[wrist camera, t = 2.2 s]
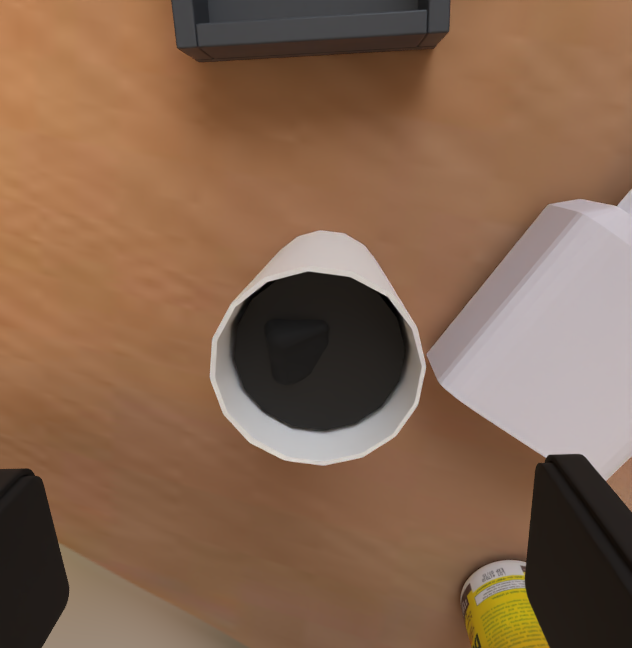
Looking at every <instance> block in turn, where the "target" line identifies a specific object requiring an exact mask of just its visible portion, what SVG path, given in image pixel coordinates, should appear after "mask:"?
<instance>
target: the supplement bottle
mask: <svg viewBox="0 0 632 648" xmlns="http://www.w3.org/2000/svg"><path fill="white" fill-rule="evenodd" d="M525 570H526V562H523V561H517V560H503V561H497V562H493V563H490V564H487V565H485V566H483V567H481V568H480V569H478V570H477V571H475V572H474V573H473V574H472V575H471V576H470V577H469V578H468V580H467V581H466V583H465V584H464V586H463V589H462V592H461V600H460V601H461V609H462V614H463V618H464V622H465V625H466V629H467V633H468V636H469V640H470V644H471V648H550V647H549V645H548V643H547V641H546V638H545V636H544V634H543V632H542V629H541V627H540V625H539V623H538V620H537V618H536V616H535V614H534V611H533V609H532V607H531V604H530V602H529V600H528V597H527V593H526V588H525Z"/></svg>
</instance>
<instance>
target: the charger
mask: <svg viewBox="0 0 632 648" xmlns="http://www.w3.org/2000/svg"><path fill="white" fill-rule="evenodd" d="M426 355H427V357H428V360H429V362H430V364H431V366H432V369H433V371H434V373H435V376H436V378H437V380H438V382H439V383H440V384H441V385H442V386H443V387H444V388H445V389H446V390H447V391H448V392H449V393H451V394H452V395H453V396H454V397H456V398H457V399H458V400H460V401H461V402H462V403H464V404H465V405H466V406H468V407H469V408H471V409H472V410H474V411H475V412H477V413H478V414H480V415H481V416H483V417H484V418H486V419H487V420H489V421H490V422H492V423H493V424H495V425H496V426H498V427H500V428H501V429H503V430H504V431H506V432H507V433H509V434H510V435H512V436H513V437H515V438H516V439H518V440H519V441H521V442H522V443H524V444H525V445H527V446H528V447H530V448H531V449H533V450H535V451H536V452H538V453H539V454H541V455H542V456H544V457H545V458H546V457H547V456H548V455H554V454H582V455H583V456H585V457H586V458H587V460H588V461H589V462H590V463H591V464H592V466H593V467H594V468H595V469H596V470H597V472H598V473H599V474H600V475H601V476H602V477H603V479H604V480H605V481H606V480H607V479H608V478H609V477H611V476H612V475H613V474H614V473H615V472H616V471H617V470H618V469H619V468H620V467H621V466H622V465H623V464H624V463H625V462H626V461H627V460H628V459H629V458H630V457H631V456H632V189H631V190H630V191H629V192H628V194H627V195H626V196H625V197H624V198H623V199H622V201H621V202H620V203H619V204H618V205H617V206H614V205H609V204H604V203H599V202H594V201H589V200H584V199H576V200H570V201H564V202H558V203H553V204H548V205H547V206H546V207H545V208H544V210H543V211H542V212H541V213H540V215H539V216H538V217H537V218H536V220H535V221H534V222H533V223H532V224H531V226H530V227H529V228H528V229H527V231H526V232H525V233H524V234H523V236H522V237H521V238H520V239H519V240H518V242H517V243H516V244H515V245H514V247H513V248H512V249H511V250H510V252H509V253H508V254H507V255H506V256H505V258H504V259H503V260H502V261H501V263H500V264H499V265H498V266H497V268H496V269H495V270H494V271H493V273H492V274H491V275H490V276H489V277H488V279H487V280H486V281H485V282H484V284H483V285H482V286H481V287H480V289H479V290H478V291H477V292H476V293H475V295H474V296H473V297H472V298H471V300H470V301H469V302H468V303H467V305H466V306H465V307H464V308H463V309H462V311H461V312H460V313H459V314H458V316H457V317H456V318H455V319H454V321H453V322H452V323H451V324H450V325H449V327H448V328H447V329H446V330H445V332H444V333H443V334H442V335H441V337H440V338H439V339H438V340H437V341H436V343H435V344H434V345H433V346H432V348H431V349H430V350H429V351H428V353H427V354H426Z"/></svg>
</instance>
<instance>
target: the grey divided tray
mask: <svg viewBox="0 0 632 648" xmlns="http://www.w3.org/2000/svg"><path fill="white" fill-rule="evenodd" d="M171 2H172V11H173V19H174V28H175V36H176V45H177V48H178V49H179V50H181V51H182V52H184V53H186V54H187V55H189V56H190V57H192V58H193V59H195V60H196V61H198V62H212V61H230V60H247V59H264V58H281V57H299V56H316V55H333V54H350V53H367V52H385V51H402V50H419V49H434V48H435V47H436V45H437V44H438V43H439V42H440V41H441V40H442V39H443V38H444V37H445V35H446V34H447V33H448V32H449V26H450V0H171Z"/></svg>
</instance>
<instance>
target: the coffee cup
mask: <svg viewBox="0 0 632 648" xmlns="http://www.w3.org/2000/svg"><path fill="white" fill-rule="evenodd" d="M425 370H426V364H425V359H424V355H423V351H422V346H421V342H420V337H419V333H418V329H417V326H416V325H415V323H414V321H413V320H412V318H411V316H410V315H409V313H408V311H407V310H406V308H405V307H404V305H403V303H402V302H401V300H400V298H399V297H398V295H397V293H396V292H395V290H394V289H393V287H392V285H391V284H390V282H389V280H388V279H387V277H386V275H385V274H384V272H383V270H382V269H381V267H380V266H379V264H378V262H377V261H376V260H375V258H374V257H373V256H372V254H371V253H370V252H369V250H368V249H367V248H366V246H365V245H364V244H362V243H360V242H358V241H357V240H355V239H353V238H351V237H350V236H348V235H346V234H345V233H338V232H331V231H323V230H319V231H315V232H312V233H308V234H304V235H301V236H297V237H296V238H295V239H294V240H292V241H291V242H290V243H288V244H287V245H286V246H285V247H283V248H282V249H281V250H280V251H279V252H278V253H277V254H276V255H275V256H274V257H273V258H272V259H271V261H270V262H269V263H268V264H267V265H266V266H265V267H264V268H263V269H262V270H261V271H260V272H259V274H258V275H257V276H256V277H255V278H254V279H253V280H252V281H251V282H250V283H249V284H248V286H247V287H246V288H245V289H244V290H243V291H242V292H241V293H240V294H239V295H238V296H237V298H236V299H235V300H234V301H233V302H232V303H231V305H230V307H229V308H228V310H227V312H226V314H225V316H224V318H223V320H222V322H221V323H220V325H219V327H218V329H217V331H216V333H215V335H214V336H213V338H212V350H211V366H210V380H211V382H212V385H213V388H214V391H215V393H216V396H217V399H218V401H219V404H220V407H221V409H222V412H223V414H224V415H225V417H226V418H227V419H228V420H229V421H230V422H231V423H232V424H233V425H234V426H235V427H236V429H237V430H238V431H239V432H240V433H241V434H242V435H243V436H244V437H245V438H246V439H247V441H248V442H249V443H251V444H253V445H255V446H257V447H259V448H261V449H263V450H265V451H267V452H269V453H271V454H273V455H275V456H277V457H279V458H281V459H283V460H285V461H292V462H300V463H307V464H315V465H323V466H325V465H329V464H334V463H339V462H343V461H348V460H353V459H358V458H362V457H364V456H366V455H367V454H369V453H370V452H372V451H373V450H375V449H377V448H378V447H380V446H381V445H383V444H384V443H386V442H388V441H389V440H391V439H392V438H394V437H395V436H396V435H397V434H398V432H399V431H400V430H401V428H402V427H403V425H404V424H405V423H406V421H407V420H408V418H409V417H410V416H411V414H412V413H413V411H414V410H415V409H416V407H417V406H418V403H419V399H420V394H421V389H422V384H423V380H424V375H425Z"/></svg>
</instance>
